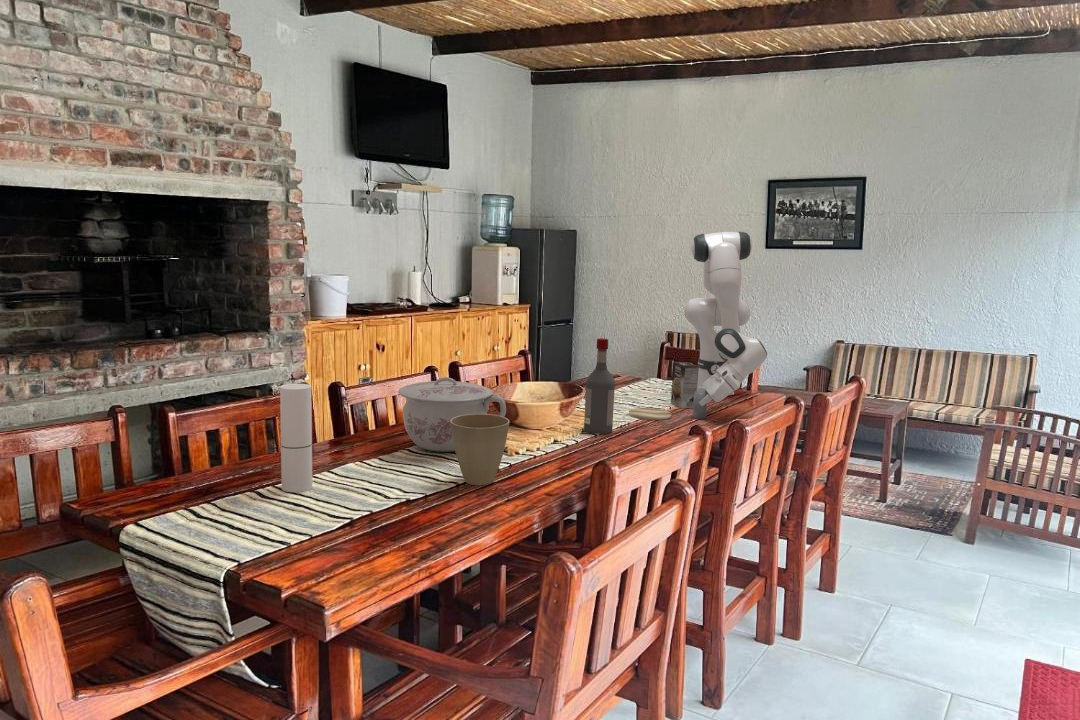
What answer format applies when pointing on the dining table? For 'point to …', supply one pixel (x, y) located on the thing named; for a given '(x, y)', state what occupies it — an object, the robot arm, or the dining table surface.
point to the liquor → (599, 395)
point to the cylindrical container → (296, 437)
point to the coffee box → (684, 384)
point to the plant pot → (479, 445)
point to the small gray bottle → (699, 410)
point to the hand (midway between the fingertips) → (698, 402)
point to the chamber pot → (442, 410)
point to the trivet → (650, 414)
